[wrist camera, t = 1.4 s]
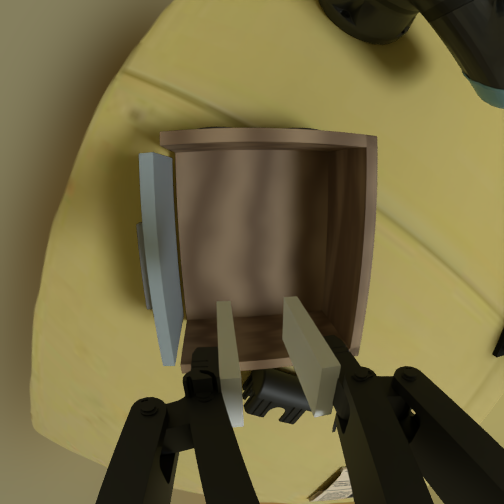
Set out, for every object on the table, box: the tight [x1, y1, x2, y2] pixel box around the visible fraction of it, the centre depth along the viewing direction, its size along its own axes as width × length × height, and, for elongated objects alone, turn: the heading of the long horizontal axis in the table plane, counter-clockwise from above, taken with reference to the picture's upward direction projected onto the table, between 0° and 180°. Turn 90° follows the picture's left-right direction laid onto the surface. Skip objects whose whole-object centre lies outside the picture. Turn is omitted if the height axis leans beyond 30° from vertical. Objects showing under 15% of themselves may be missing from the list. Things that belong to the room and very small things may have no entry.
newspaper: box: [309, 467, 353, 501], centre depth 61 cm, size 37×19×3 cm, turn 68°
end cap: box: [242, 368, 312, 424], centre depth 42 cm, size 10×7×7 cm
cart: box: [160, 127, 377, 373], centre depth 32 cm, size 20×26×12 cm
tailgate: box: [136, 152, 184, 366], centre depth 30 cm, size 2×20×11 cm, turn 1°
